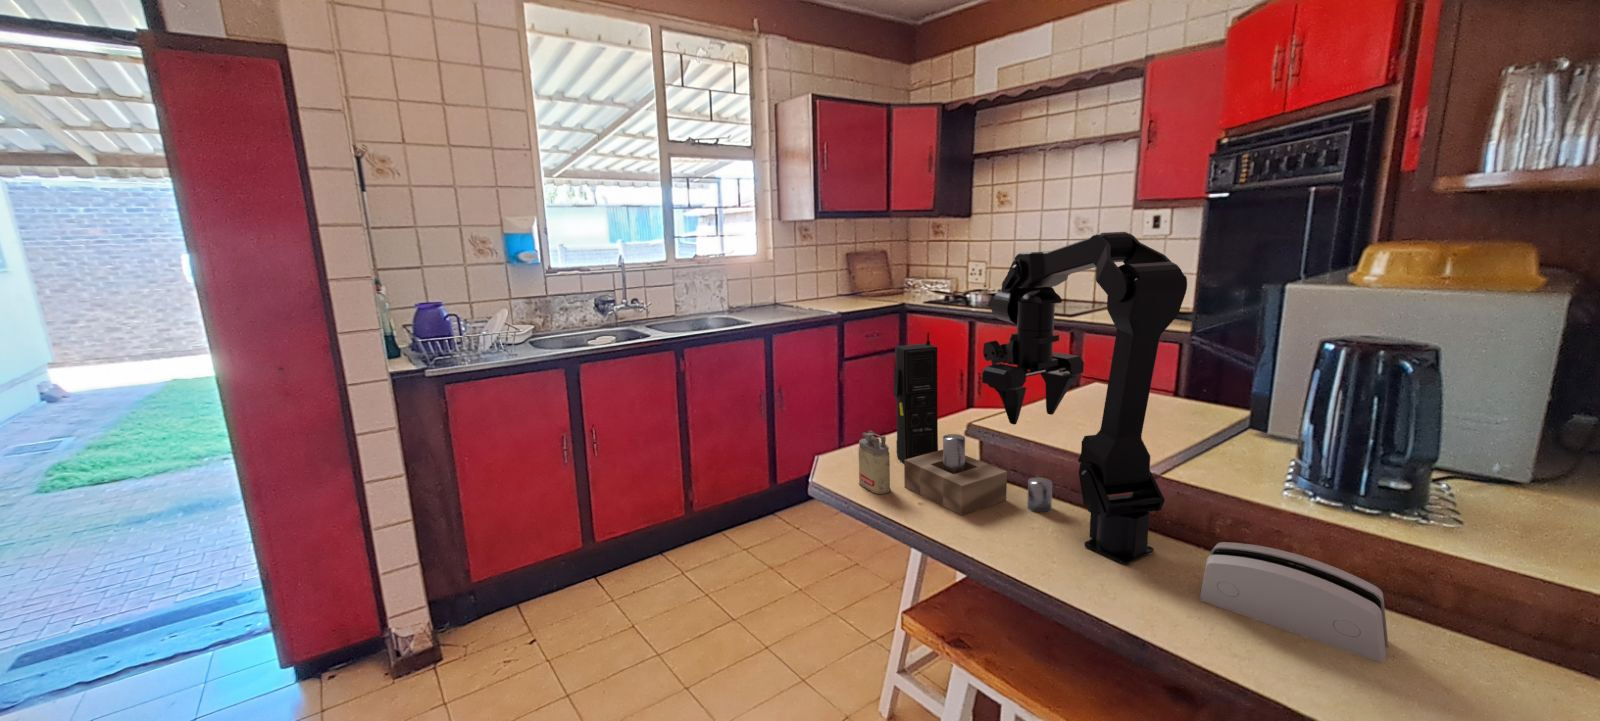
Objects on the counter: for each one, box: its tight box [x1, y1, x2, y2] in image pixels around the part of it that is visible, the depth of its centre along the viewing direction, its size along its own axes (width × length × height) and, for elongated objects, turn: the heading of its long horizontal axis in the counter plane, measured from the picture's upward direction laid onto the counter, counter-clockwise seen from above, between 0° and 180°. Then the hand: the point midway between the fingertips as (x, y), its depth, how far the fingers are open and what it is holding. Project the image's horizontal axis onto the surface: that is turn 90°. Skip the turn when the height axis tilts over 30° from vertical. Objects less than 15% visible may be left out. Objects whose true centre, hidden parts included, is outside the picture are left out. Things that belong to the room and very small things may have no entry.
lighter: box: [858, 430, 891, 495], centre depth 112 cm, size 7×4×10 cm, turn 28°
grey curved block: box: [1199, 541, 1389, 664], centre depth 70 cm, size 17×5×10 cm, turn 43°
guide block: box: [903, 449, 1008, 516], centre depth 108 cm, size 14×10×5 cm
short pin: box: [1026, 476, 1053, 514], centre depth 102 cm, size 4×4×4 cm
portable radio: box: [893, 331, 939, 463], centre depth 122 cm, size 8×6×25 cm
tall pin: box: [942, 433, 966, 474], centre depth 108 cm, size 4×4×10 cm
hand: (1031, 418), depth 108 cm, fingers open, 9 cm apart
